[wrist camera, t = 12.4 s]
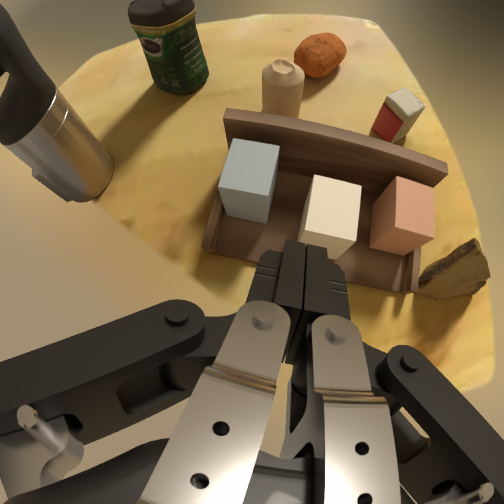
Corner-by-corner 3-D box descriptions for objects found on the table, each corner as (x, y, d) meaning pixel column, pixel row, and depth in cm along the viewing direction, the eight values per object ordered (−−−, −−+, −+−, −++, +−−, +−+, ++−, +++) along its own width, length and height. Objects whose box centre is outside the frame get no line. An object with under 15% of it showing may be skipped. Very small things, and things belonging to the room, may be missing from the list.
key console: (406, 294, 33) (449, 282, 24) (206, 251, 36) (186, 224, 26) (412, 197, 37) (447, 163, 27) (234, 155, 39) (226, 108, 29)
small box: (389, 116, 40) (405, 85, 33) (407, 135, 39) (426, 105, 32) (370, 127, 40) (386, 94, 32) (389, 147, 39) (408, 116, 31)
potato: (281, 73, 43) (283, 42, 36) (319, 45, 45) (323, 18, 38) (317, 91, 42) (323, 60, 35) (351, 61, 44) (358, 33, 37)
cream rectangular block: (335, 259, 34) (355, 241, 26) (295, 251, 34) (304, 229, 27) (342, 214, 35) (361, 185, 28) (304, 205, 36) (314, 174, 28)
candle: (305, 112, 40) (314, 65, 31) (284, 133, 40) (289, 84, 30) (277, 96, 41) (279, 49, 32) (255, 115, 40) (252, 66, 31)
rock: (492, 266, 31) (456, 221, 32) (516, 292, 24) (480, 240, 24) (444, 315, 36) (406, 277, 37) (458, 349, 29) (416, 308, 29)
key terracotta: (403, 255, 34) (434, 238, 26) (368, 247, 34) (394, 226, 26) (405, 213, 35) (434, 188, 27) (372, 204, 36) (396, 175, 28)
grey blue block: (267, 223, 35) (268, 196, 28) (226, 215, 36) (217, 186, 28) (276, 180, 37) (279, 146, 29) (238, 173, 37) (233, 138, 29)
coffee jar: (217, 74, 43) (202, -15, 25) (187, 101, 42) (159, 9, 24) (177, 61, 45) (154, -17, 27) (148, 86, 43) (114, 7, 25)
